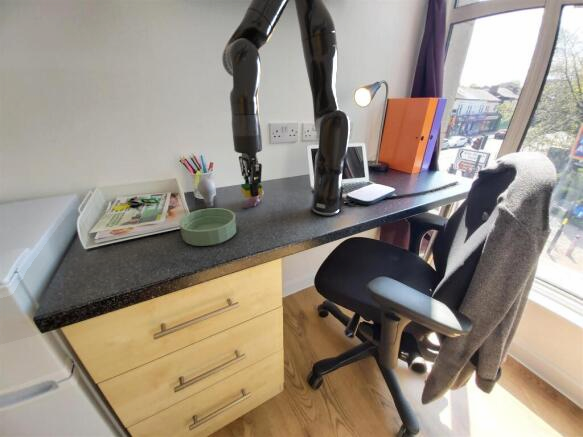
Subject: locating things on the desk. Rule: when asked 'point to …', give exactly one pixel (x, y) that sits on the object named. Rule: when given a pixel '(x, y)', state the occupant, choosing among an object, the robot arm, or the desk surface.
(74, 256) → the desk surface
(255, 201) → the pink knobbly lump
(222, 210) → the bowl
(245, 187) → the sponge
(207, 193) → the lightbulb
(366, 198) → the external hard drive
